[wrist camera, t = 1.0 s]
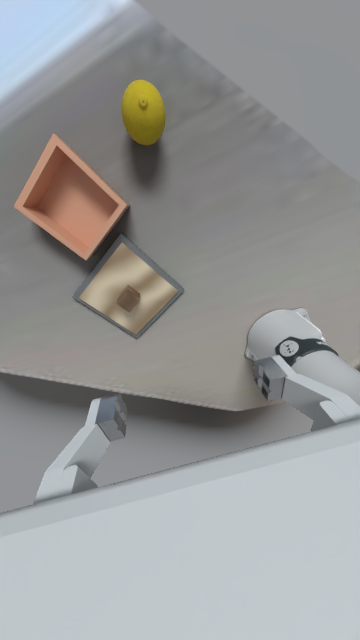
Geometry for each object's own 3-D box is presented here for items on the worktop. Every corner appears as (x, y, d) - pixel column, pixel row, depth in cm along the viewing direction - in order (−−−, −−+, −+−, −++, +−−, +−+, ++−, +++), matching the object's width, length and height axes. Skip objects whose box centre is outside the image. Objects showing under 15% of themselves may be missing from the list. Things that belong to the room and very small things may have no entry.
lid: (177, 290, 41) (180, 299, 37) (136, 333, 45) (134, 345, 41) (122, 242, 35) (118, 246, 31) (79, 296, 39) (71, 306, 35)
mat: (183, 288, 42) (184, 290, 41) (137, 336, 46) (136, 338, 45) (121, 232, 35) (120, 233, 34) (73, 295, 39) (72, 297, 39)
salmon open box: (130, 205, 33) (127, 205, 29) (93, 254, 36) (85, 260, 32) (68, 144, 28) (53, 133, 24) (32, 206, 31) (13, 206, 27)
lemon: (135, 157, 30) (131, 142, 23) (118, 108, 27) (107, 75, 20) (168, 143, 30) (174, 124, 23) (155, 93, 27) (156, 54, 20)
